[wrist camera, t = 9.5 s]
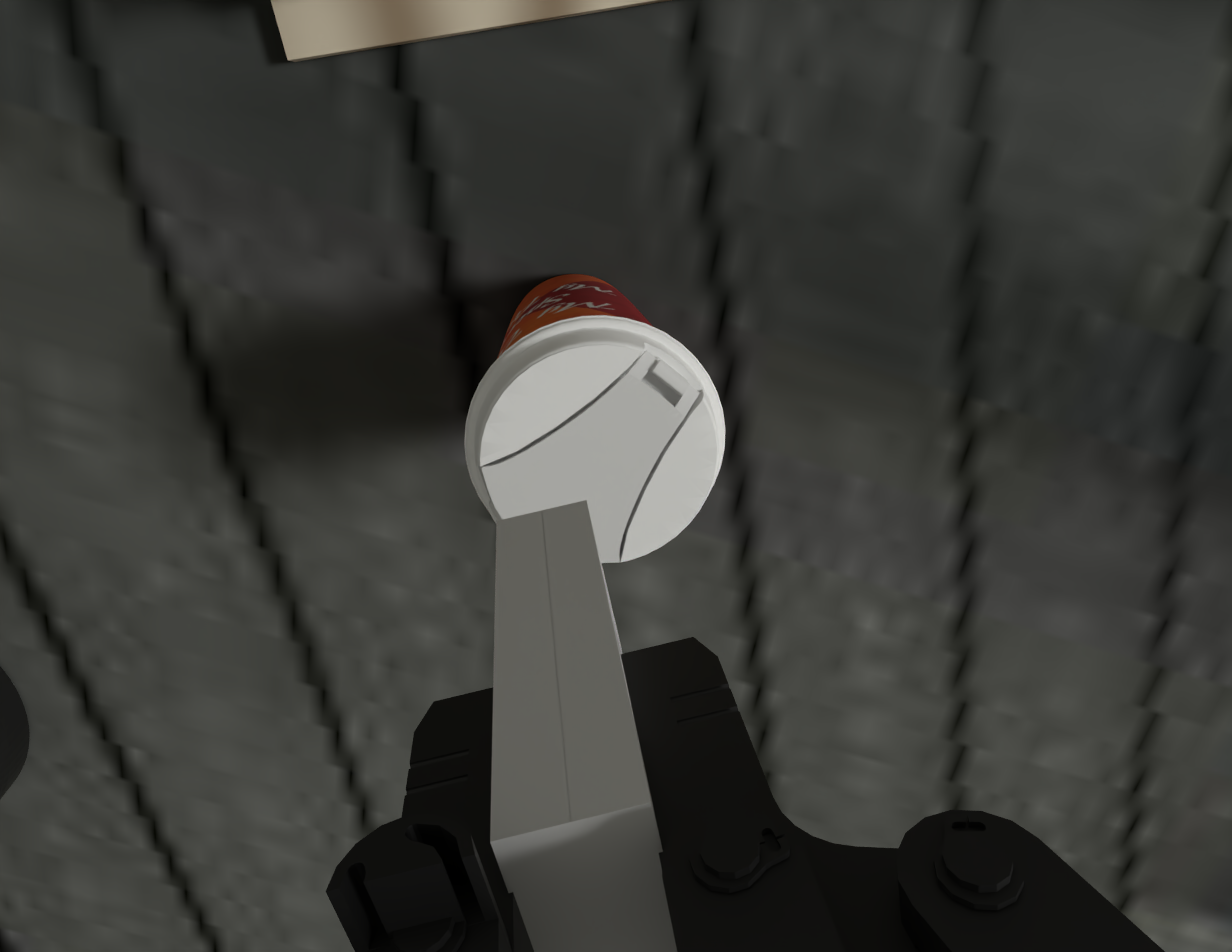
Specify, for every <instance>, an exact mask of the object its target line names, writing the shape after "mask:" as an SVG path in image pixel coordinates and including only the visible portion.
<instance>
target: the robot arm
mask: <svg viewBox="0 0 1232 952" xmlns="http://www.w3.org/2000/svg"><path fill="white" fill-rule="evenodd" d="M28 747H29V725H28V719H27V715H26V711H25V708H24V705H23V703H22V700H21V698H20V696H19V694H18V692H17V690H16V688H15V686H14V685H13V683H12V682H11V680H10V679H9V677H8V676H7V674H6V673H5V672H4V670H3V669H2V668H1V667H0V799H1V798H2V797H3V795H4V794H5V793H6V791H7V790H8V789H9V788H10V786H11V785H12V784H13V782H14V781H15V780H16V778H17V777H18V775H19V773H20V772H21V770H22V767H23V765H24V763H25V760H26V757H27V752H28ZM410 767H411V769H409V771H408V778H407V785H406V791H407V795H406V796H405V799H404V805H403V812H402V818H400V819H397V820H394V821H392V822H389V823H387V824H384V825H382V826H380V827H379V828H377V829H376V830H374V831H373V832H372V833H370V834H369V835H367V836H366V837H365V838H363V839H362V840H360V841H359V842H358V843H356V844H355V846H354V847H353V848H352V849H351V850H350V851H349V853H348V854H347V855H346V856H345V857H344V858H343V860H342V861H341V862H340V863H339V864H338V865H337V867H336V869H335V872H334V874H333V876H332V878H331V881H330V883H329V885H328V888H327V890H326V893H327V895H328V897H329V899H330V901H331V903H332V905H333V907H334V909H335V911H336V913H337V915H338V918H339V920H340V922H341V924H342V926H343V928H344V930H345V932H346V934H347V936H348V938H349V940H350V942H351V944H352V946H353V948H354V950H355V952H1165V951H1164V950H1162V949H1161V948H1160V947H1159V946H1158V945H1157V944H1156V943H1155V942H1153V941H1152V940H1151V939H1150V938H1149V937H1148V936H1147V935H1146V934H1145V933H1143V932H1142V931H1141V930H1140V929H1139V928H1138V927H1137V926H1136V925H1135V924H1133V923H1132V922H1131V921H1130V920H1129V919H1128V918H1127V917H1126V916H1125V915H1123V914H1122V913H1121V912H1120V911H1119V910H1118V909H1117V908H1116V907H1114V906H1113V905H1112V904H1111V903H1110V902H1109V901H1108V900H1107V899H1106V898H1104V897H1103V896H1102V895H1101V894H1100V893H1099V892H1098V891H1097V890H1096V889H1094V888H1093V887H1092V886H1091V885H1090V884H1089V883H1088V882H1087V881H1085V880H1084V879H1083V878H1082V877H1081V876H1080V875H1079V874H1078V873H1077V872H1075V871H1074V870H1073V869H1072V868H1071V867H1070V866H1069V865H1068V864H1067V863H1065V862H1064V861H1063V860H1062V859H1061V858H1060V857H1059V856H1058V855H1057V854H1055V853H1054V852H1053V851H1052V850H1051V849H1050V848H1049V847H1048V846H1046V845H1045V844H1044V843H1043V842H1042V841H1041V840H1040V839H1039V838H1037V837H1036V836H1034V835H1033V834H1031V833H1030V832H1028V831H1027V830H1025V829H1024V828H1022V827H1020V826H1019V825H1017V824H1016V823H1014V822H1013V821H1011V820H1008V819H1005V818H1001V817H998V816H995V815H992V814H989V813H986V812H983V811H965V810H949V811H946V812H943V813H939V814H936V815H932V816H929V817H925V818H924V819H922V820H921V821H920V822H919V823H917V824H916V825H915V826H914V827H912V828H911V829H910V830H909V831H907V832H906V833H905V835H904V838H903V840H902V842H901V844H900V847H899V849H897V848H875V847H855V846H848V845H841V844H834V843H830V842H828V841H825V840H822V839H819V838H816V837H814V836H811V835H810V834H808V833H806V832H805V831H803V830H802V829H800V828H798V827H797V826H795V825H794V824H793V823H792V822H791V821H790V820H789V819H788V818H787V817H786V816H785V815H784V814H783V813H782V812H781V810H780V808H779V807H778V805H777V803H776V802H775V800H774V798H773V796H772V793H771V791H770V788H769V786H768V783H767V780H766V778H765V775H764V773H763V770H762V768H761V765H760V763H759V760H758V758H757V755H756V753H755V750H754V748H753V745H752V742H751V740H750V737H749V735H748V732H747V730H746V727H745V725H744V722H743V720H742V717H741V715H740V712H739V711H738V708H737V704H736V702H735V699H734V697H733V694H732V692H731V689H730V688H729V685H728V682H727V679H726V677H725V674H724V671H723V669H722V666H721V664H720V661H719V659H718V656H716V655H715V654H714V653H713V652H711V651H710V650H709V649H708V648H706V647H705V646H704V645H703V644H701V643H700V642H699V641H698V640H696V639H695V638H694V637H691V638H687V639H683V640H679V641H674V642H670V643H666V644H662V645H658V646H654V647H649V648H645V649H641V650H637V651H633V652H628V653H624V654H622V649H621V645H620V640H619V636H618V632H617V627H616V623H615V619H614V615H613V610H612V606H611V602H610V598H609V593H608V589H607V585H606V581H605V576H604V572H603V568H602V564H601V559H600V555H599V551H598V547H597V542H596V538H595V534H594V530H593V525H592V521H591V517H590V513H589V508H588V504H587V500H584V501H580V502H576V503H571V504H567V505H563V506H558V507H554V508H550V509H545V510H541V511H537V512H533V513H528V514H524V515H520V516H515V517H511V518H507V519H502V520H498V521H497V528H496V578H495V627H494V677H493V688H489V689H485V690H481V691H476V692H472V693H468V694H464V695H460V696H455V697H451V698H447V699H443V700H439V701H434V702H433V704H432V705H431V707H430V708H429V710H428V711H427V713H426V714H425V716H424V718H423V719H422V721H421V722H420V724H419V725H418V727H417V729H416V730H415V732H414V737H413V744H412V751H411V758H410Z"/></svg>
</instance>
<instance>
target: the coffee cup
mask: <svg viewBox="0 0 1232 952" xmlns="http://www.w3.org/2000/svg"><path fill="white" fill-rule="evenodd" d="M464 445H465V456H466V463H467V467H468V470H469V474H470V478H471V481H472V483H473V485H474V487H475V490H476V492H477V494H478V496H479V498H480V499H481V501H482V502H483V504H484V505H485V507H486V508H487V510H488V511H489V513H490V514H491V516H492V518H493V519H494V521H495V523H496V524H497V521H498V520H502V519H507V518H511V517H515V516H520V515H524V514H528V513H533V512H537V511H541V510H545V509H550V508H554V507H558V506H563V505H567V504H571V503H576V502H580V501H584V500H587V504H588V508H589V513H590V517H591V521H592V525H593V530H594V534H595V538H596V542H597V547H598V551H599V555H600V559H601V563H617V562H625V561H629V560H632V559H635V558H638V557H641V556H644V555H646V554H648V553H650V552H652V551H654V550H656V549H658V548H660V547H662V546H663V545H664V544H666V543H667V542H669V541H670V540H672V539H673V538H674V537H676V536H677V535H678V534H679V533H680V532H681V531H682V530H683V529H684V528H685V527H687V526H688V525H689V523H690V522H691V521H692V520H693V518H694V517H695V516H696V515H697V513H698V512H699V511H700V509H701V507H702V506H703V504H704V502H705V500H706V499H707V497H708V495H709V492H710V491H711V489H712V487H713V485H714V483H715V480H716V478H717V475H718V473H719V470H720V467H721V463H722V458H723V453H724V448H725V423H724V415H723V409H722V406H721V403H720V399H719V396H718V393H717V390H716V388H715V386H714V384H713V382H712V380H711V378H710V376H709V375H708V373H707V372H706V370H705V369H704V368H703V366H702V365H701V364H700V362H699V361H698V360H697V358H696V357H695V356H694V355H693V354H692V353H691V352H690V351H689V350H688V349H687V348H685V347H684V346H683V345H682V344H681V343H680V342H678V341H677V340H675V339H674V338H672V337H671V336H669V335H668V334H667V333H665V332H663V331H661V330H659V329H657V328H655V327H653V326H652V325H651V324H650V322H649V321H648V320H647V319H646V318H645V317H644V316H643V315H642V314H641V313H640V312H639V311H638V310H637V308H636V307H635V306H634V305H633V304H632V303H631V302H630V301H629V300H628V299H627V298H626V297H625V296H624V295H623V294H622V293H620V292H619V291H618V290H617V289H616V288H614V287H613V286H611V285H610V284H608V283H606V282H605V281H603V280H600V279H598V278H595V277H592V276H588V275H582V274H567V275H561V276H557V277H554V278H551V279H548V280H546V281H544V282H542V283H541V284H539V285H537V286H536V287H535V288H533V289H532V290H531V291H530V292H529V293H528V294H527V295H526V296H525V297H524V298H523V300H522V301H521V303H520V304H519V306H518V307H517V309H516V311H515V313H514V315H513V317H512V319H511V322H510V324H509V327H508V329H507V332H506V335H505V338H504V340H503V343H502V346H501V349H500V352H499V355H498V358H497V360H496V361H495V362H494V363H493V364H492V365H491V366H490V368H489V369H488V371H487V372H486V374H485V375H484V377H483V378H482V380H481V381H480V383H479V385H478V387H477V389H476V392H475V394H474V396H473V398H472V401H471V403H470V407H469V411H468V415H467V419H466V426H465V438H464Z"/></svg>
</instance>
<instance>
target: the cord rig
mask: <svg viewBox="0 0 1232 952" xmlns="http://www.w3.org/2000/svg"><path fill="white" fill-rule="evenodd" d="M664 1H670V0H271V3H272V6H273V10H274V14H275V17H276V21H277V24H278V28H279V31H280V35H281V38H282V42H283V45H284V49H285V53H286V56H287V60H288V61H293V62H297V61H303V60H309V59H315V58H321V57H327V56H333V55H340V54H346V53H352V52H358V51H364V50H370V49H376V48H382V47H388V46H395V45H401V44H407V43H413V42H419V41H425V40H431V39H437V38H444V37H450V36H456V35H462V34H468V33H474V32H480V31H486V30H492V29H499V28H505V27H511V26H517V25H523V24H529V23H535V22H541V21H548V20H554V19H560V18H566V17H572V16H578V15H584V14H590V13H596V12H603V11H609V10H615V9H621V8H627V7H633V6H639V5H645V4H652V3H658V2H664Z"/></svg>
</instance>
